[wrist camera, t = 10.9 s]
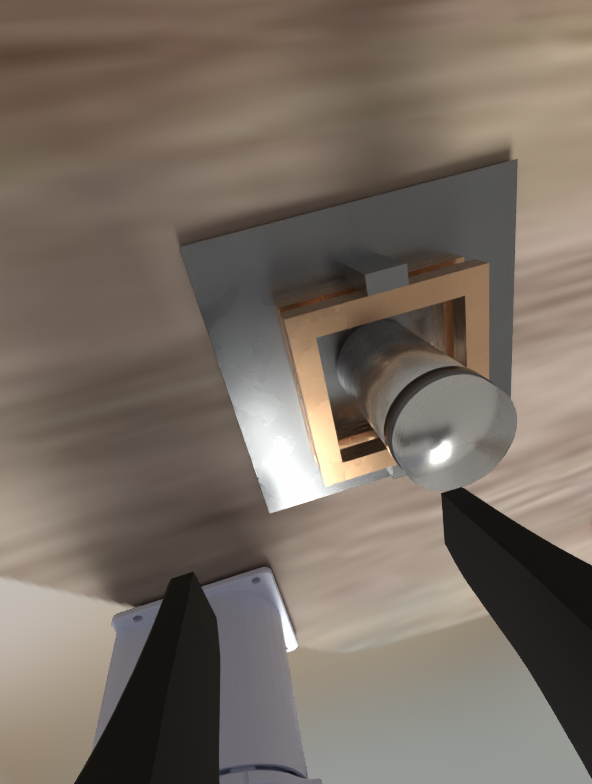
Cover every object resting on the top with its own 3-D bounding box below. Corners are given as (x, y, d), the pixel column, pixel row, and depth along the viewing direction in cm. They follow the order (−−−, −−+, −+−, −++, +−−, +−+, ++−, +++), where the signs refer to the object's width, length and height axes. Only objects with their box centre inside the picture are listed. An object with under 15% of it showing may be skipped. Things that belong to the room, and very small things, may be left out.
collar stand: (268, 507, 22) (277, 552, 20) (179, 245, 16) (173, 256, 13) (503, 434, 23) (544, 467, 21) (509, 160, 17) (569, 153, 14)
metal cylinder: (344, 411, 20) (408, 507, 14) (326, 335, 18) (391, 407, 12) (421, 385, 20) (518, 468, 14) (412, 307, 18) (518, 364, 12)
